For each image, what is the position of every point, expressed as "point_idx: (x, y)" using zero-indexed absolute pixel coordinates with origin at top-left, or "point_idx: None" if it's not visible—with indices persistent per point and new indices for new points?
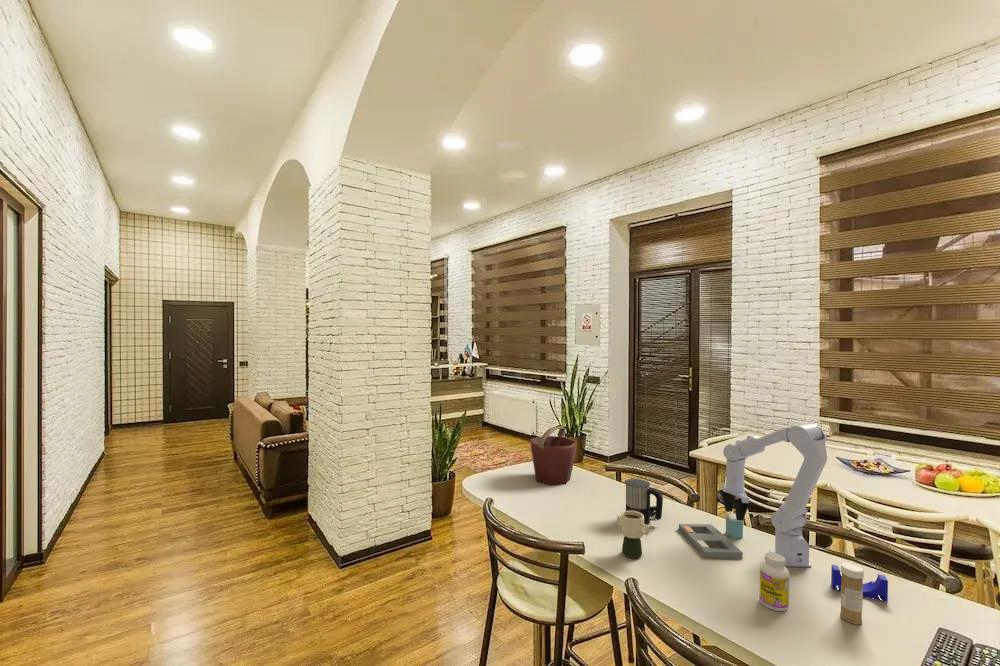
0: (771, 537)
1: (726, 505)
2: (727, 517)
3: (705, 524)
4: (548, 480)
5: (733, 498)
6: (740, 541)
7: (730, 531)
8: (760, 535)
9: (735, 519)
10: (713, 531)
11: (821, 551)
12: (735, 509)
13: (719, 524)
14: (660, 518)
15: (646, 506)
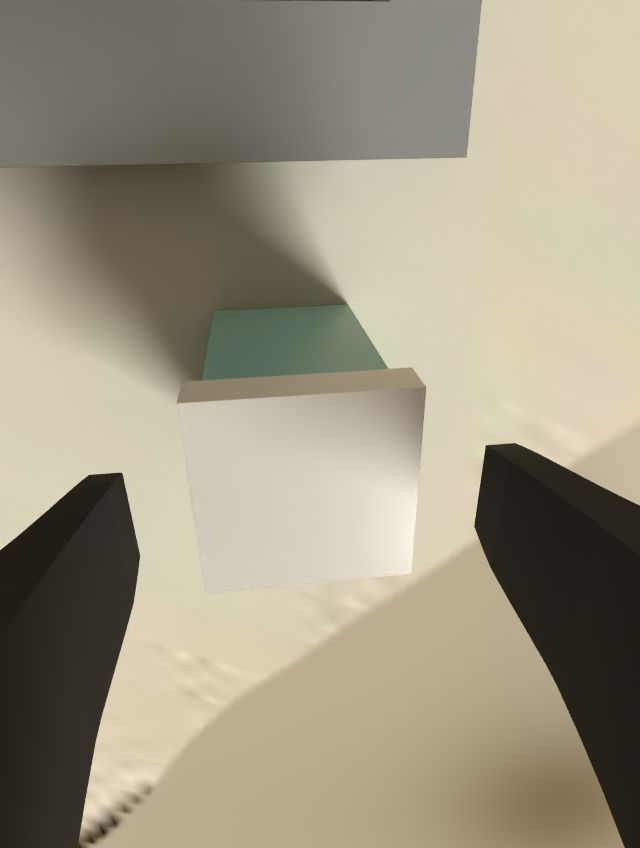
0: (271, 654)
1: (543, 509)
2: (319, 379)
3: (465, 40)
4: None
5: (603, 758)
6: (136, 374)
7: (234, 330)
8: (304, 596)
9: (186, 463)
10: (203, 51)
11: (81, 827)
12: (21, 589)
13: (566, 334)
14: None
15: None
